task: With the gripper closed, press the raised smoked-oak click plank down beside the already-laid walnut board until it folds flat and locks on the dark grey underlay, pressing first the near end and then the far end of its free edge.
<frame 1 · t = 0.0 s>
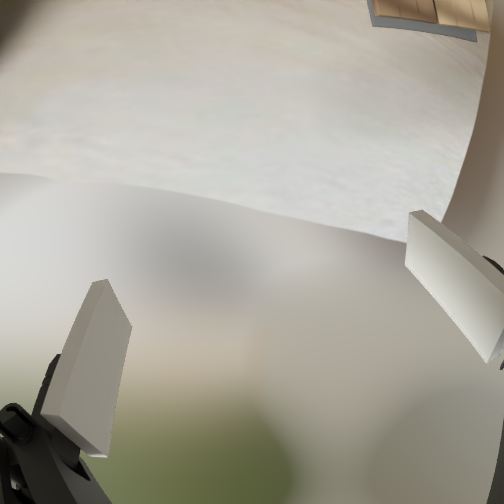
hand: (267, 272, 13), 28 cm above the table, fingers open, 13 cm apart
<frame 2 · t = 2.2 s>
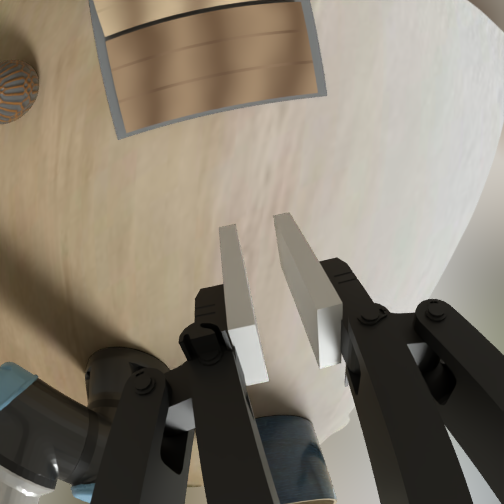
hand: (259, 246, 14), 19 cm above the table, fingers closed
underlay: (202, 17, 23), on the table
planter: (267, 436, 62), on the table
vase: (24, 89, 24), on the table
laid board: (211, 60, 26), resting on underlay
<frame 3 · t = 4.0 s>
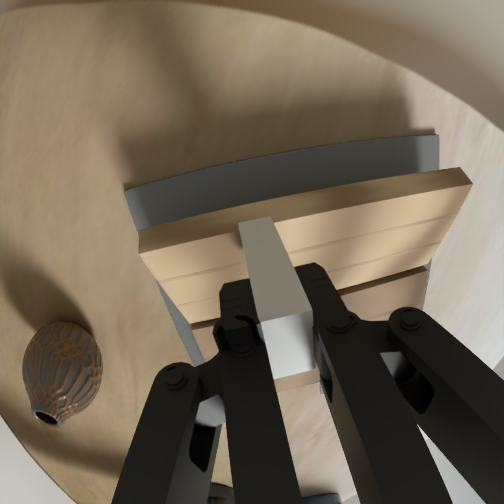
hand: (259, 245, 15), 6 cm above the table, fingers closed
underlay: (313, 286, 24), on the table
plank: (321, 250, 19), point 3 cm above the table, hinge at 26.0°, touching gripper, underlay
vase: (74, 337, 23), on the table
laid board: (317, 334, 26), resting on underlay
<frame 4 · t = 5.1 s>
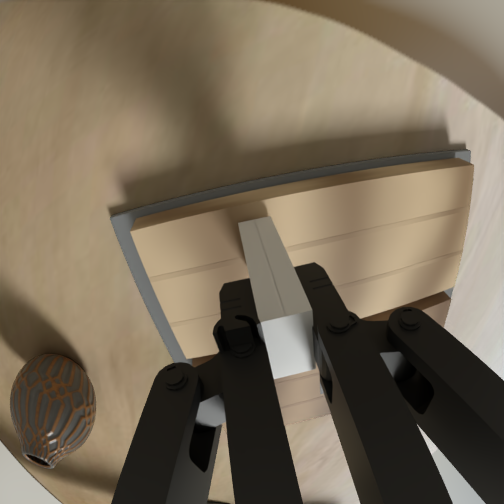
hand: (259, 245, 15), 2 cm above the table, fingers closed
underlay: (327, 319, 21), on the table
plank: (331, 259, 17), point 1 cm above the table, hinge at 1.7°, touching gripper, underlay
vase: (64, 368, 21), on the table
laid board: (330, 367, 23), resting on underlay
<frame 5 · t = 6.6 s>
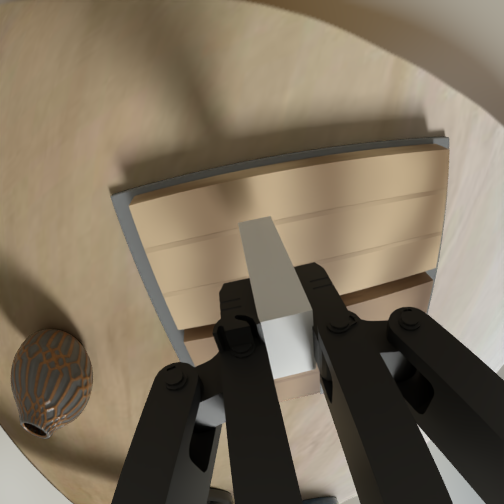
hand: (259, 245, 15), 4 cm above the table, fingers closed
underlay: (312, 296, 22), on the table
plank: (312, 235, 18), point 1 cm above the table, hinge at 1.1°, touching underlay
vase: (64, 344, 22), on the table
laid board: (316, 345, 24), resting on underlay
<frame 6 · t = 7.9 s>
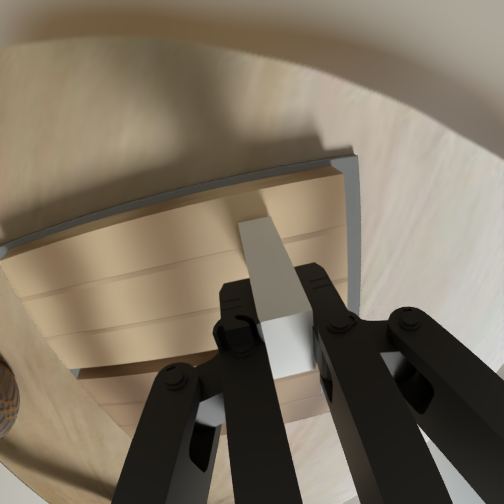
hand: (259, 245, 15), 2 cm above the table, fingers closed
underlay: (199, 344, 20), on the table
plank: (169, 288, 16), point 1 cm above the table, hinge at 0.2°, touching gripper, underlay
laid board: (218, 389, 22), resting on underlay
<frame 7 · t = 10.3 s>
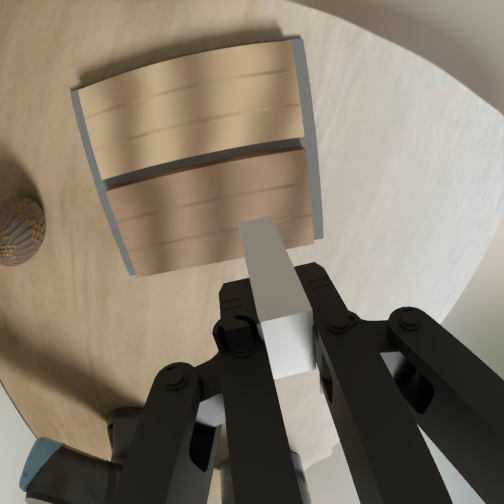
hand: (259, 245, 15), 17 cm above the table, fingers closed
underlay: (202, 162, 28), on the table
planter: (260, 463, 68), on the table
plank: (189, 105, 24), point 1 cm above the table, hinge at 0.2°, touching underlay
vase: (31, 215, 29), on the table
laid board: (213, 211, 31), resting on underlay
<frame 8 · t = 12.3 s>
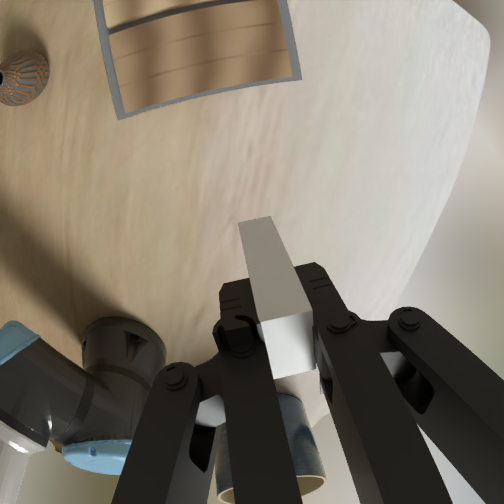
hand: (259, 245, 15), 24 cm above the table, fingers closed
underlay: (191, 14, 27), on the table
planter: (258, 416, 65), on the table
vase: (35, 77, 27), on the table
laid board: (199, 51, 29), resting on underlay
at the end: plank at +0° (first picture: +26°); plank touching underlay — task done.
